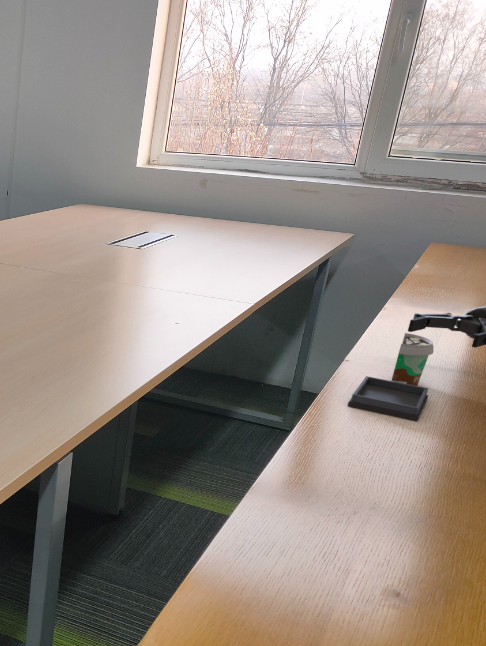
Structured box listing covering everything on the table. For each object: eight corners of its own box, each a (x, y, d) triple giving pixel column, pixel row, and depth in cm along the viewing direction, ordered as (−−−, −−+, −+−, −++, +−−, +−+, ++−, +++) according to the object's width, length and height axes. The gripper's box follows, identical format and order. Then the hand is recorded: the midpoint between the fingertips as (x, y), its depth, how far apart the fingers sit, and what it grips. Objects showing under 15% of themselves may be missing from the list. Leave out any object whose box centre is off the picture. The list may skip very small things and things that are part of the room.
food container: (421, 395, 169) (434, 349, 166) (388, 389, 172) (401, 344, 169) (424, 380, 179) (437, 337, 175) (393, 374, 182) (405, 332, 178)
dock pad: (427, 399, 167) (430, 388, 166) (417, 421, 154) (420, 409, 154) (361, 386, 174) (364, 375, 173) (347, 406, 161) (350, 394, 160)
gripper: (542, 351, 180) (499, 365, 169) (427, 324, 199) (381, 335, 188) (553, 318, 177) (510, 330, 166) (435, 295, 196) (390, 304, 185)
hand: (441, 333), depth 177 cm, fingers open, 13 cm apart
